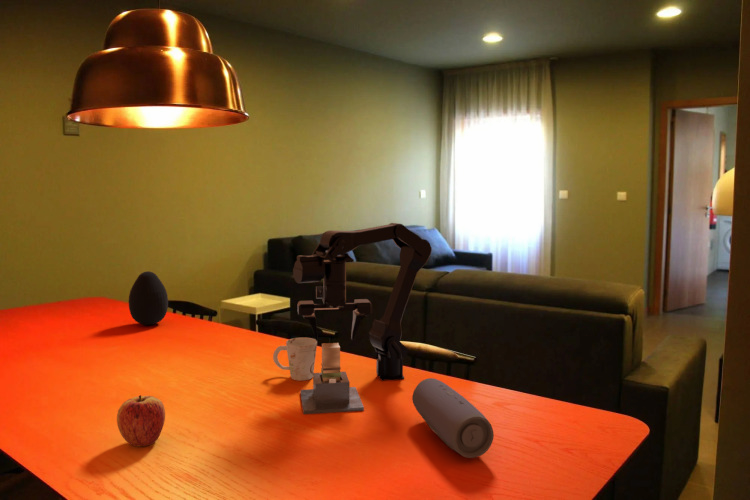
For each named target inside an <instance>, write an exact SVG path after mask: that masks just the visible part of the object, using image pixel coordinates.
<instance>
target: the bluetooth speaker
mask: <svg viewBox="0 0 750 500" xmlns="http://www.w3.org/2000/svg"><path fill="white" fill-rule="evenodd" d="M411 398H412V403H413V406H414V408H415V410H416V411H417V412H418V413H419V415H420V417H421V418H422V419H423V421H424V422H425V423H426V424H427V425H428V427H429V428H430V430H431V431H432V432H433V433H434V434H436V436H438V437H439V439H440V440H441V441H442V442H443V443H444V444H445V445H446V446H447V447H448V448H449V449H451V450H452V451H455V452H456V453H458V454H459V455H460V456H462V457H464V458H471V459H472V458H478V457H481V456H483V455H485V454H486V453H487V452H488V450H489V449H490V448H491V446H492V443H493V441H494V429H493V426H492V424H491V423H490V421H489V420H488V418H487V417H486V416H485V415H484V414H483V413H482V412H481V411H480V410H479V409H478V408H476V407H475V405H473V404H472V403H471V402H470V401H469V400H468V399H467V398H465V397H464V396H463V395H462V394H460V393H459V392H458V391H456V390H455V389H453V388H452V387H450V386H449V385H448V384H447V383H445V382H443V381H441V380H439V379H436V378H431V377H430V378H429V377H428V378H425V379H423V380H421V381H420V382H419V383H418V384H417V385H416V387H415V388H414V391H413V393H412V397H411Z"/></svg>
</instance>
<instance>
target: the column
mask: <svg viewBox="0 0 750 500" xmlns="http://www.w3.org/2000/svg"><path fill="white" fill-rule="evenodd" d="M320 365H321V371H320V373H322V381H329V377H336V381H340V377H341V372H342V371H341V369H342V368H341V346H340V343H339V342H330V343H329V342H328V343H327V342H326V343H321V364H320Z"/></svg>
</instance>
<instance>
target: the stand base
mask: <svg viewBox="0 0 750 500" xmlns="http://www.w3.org/2000/svg"><path fill="white" fill-rule="evenodd" d="M340 372H341V377H340V381H336V377H329V381H322V373H321V372H314V373H313V377H312V379H313V380H312V384H313V385H312V387H313V388H312V389H300V398H301V405H302V413H303V415H310V414H311V415H312V414H314V415H315V414H330V413H331V414H332V413H346V412H358V411H359V412H363V411H365V407H364V404H363V402H362V399H361V397H360V395H359V392H358V390H357V387H356V386H350V383H351V382H350V379H349V377H348V374H347V372H346V371H340Z"/></svg>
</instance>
